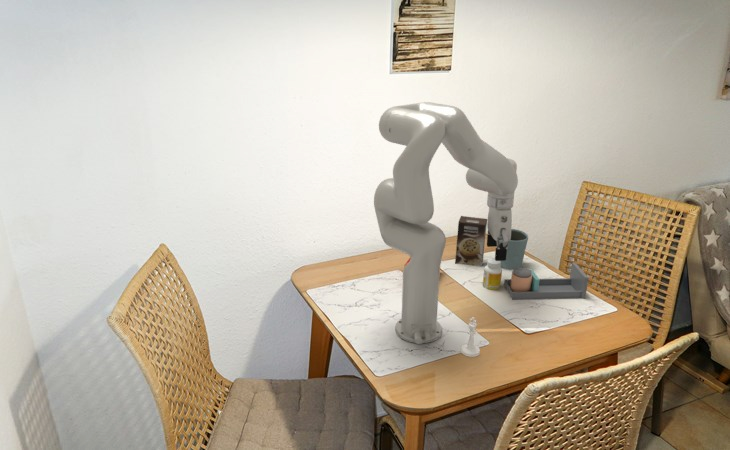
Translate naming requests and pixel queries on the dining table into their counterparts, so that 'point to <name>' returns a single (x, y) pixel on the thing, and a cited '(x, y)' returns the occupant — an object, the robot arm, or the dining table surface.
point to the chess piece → (471, 342)
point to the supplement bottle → (492, 274)
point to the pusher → (534, 282)
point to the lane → (555, 287)
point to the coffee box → (470, 241)
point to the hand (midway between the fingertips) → (495, 253)
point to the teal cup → (515, 250)
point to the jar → (521, 280)
